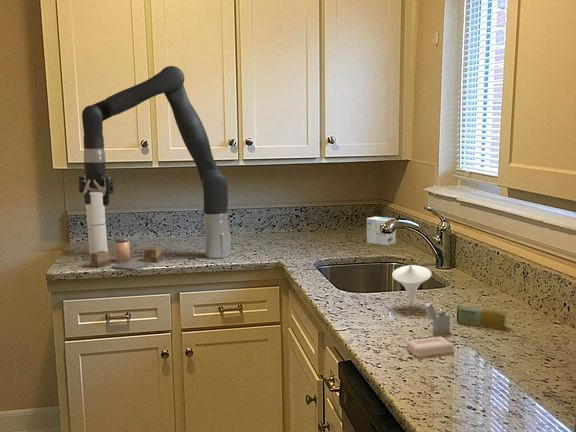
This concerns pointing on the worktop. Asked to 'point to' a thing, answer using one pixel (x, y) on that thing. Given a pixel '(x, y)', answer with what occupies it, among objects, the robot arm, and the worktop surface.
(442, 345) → the soap bar
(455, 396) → the worktop surface
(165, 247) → the worktop surface
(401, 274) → the white spinning top
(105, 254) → the block
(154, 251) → the block
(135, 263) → the coaster
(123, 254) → the tan jar
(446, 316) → the lighter
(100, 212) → the cylindrical container
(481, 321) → the medication box
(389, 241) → the light bulb box
